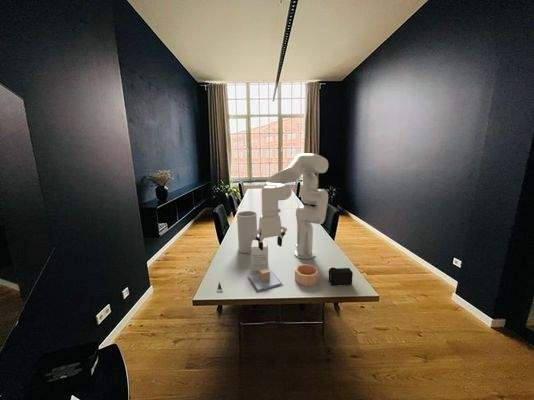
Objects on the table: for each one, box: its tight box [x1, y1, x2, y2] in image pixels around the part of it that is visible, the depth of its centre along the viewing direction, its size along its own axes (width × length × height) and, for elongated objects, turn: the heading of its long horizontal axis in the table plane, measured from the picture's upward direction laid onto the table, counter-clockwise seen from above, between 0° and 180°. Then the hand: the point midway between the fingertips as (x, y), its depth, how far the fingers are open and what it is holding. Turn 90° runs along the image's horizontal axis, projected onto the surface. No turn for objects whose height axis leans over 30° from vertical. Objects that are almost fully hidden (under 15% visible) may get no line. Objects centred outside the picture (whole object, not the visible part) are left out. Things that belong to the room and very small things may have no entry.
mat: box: [246, 270, 285, 294], centre depth 110 cm, size 14×14×1 cm
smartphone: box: [216, 281, 224, 293], centre depth 111 cm, size 7×1×15 cm
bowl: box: [294, 263, 319, 287], centre depth 111 cm, size 11×11×6 cm
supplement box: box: [250, 239, 269, 272], centre depth 122 cm, size 9×9×15 cm
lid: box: [249, 268, 282, 291], centre depth 109 cm, size 12×12×6 cm
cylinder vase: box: [236, 210, 258, 254], centre depth 144 cm, size 12×12×25 cm
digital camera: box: [327, 266, 354, 287], centre depth 109 cm, size 10×5×7 cm, turn 92°
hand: (270, 247), depth 105 cm, fingers open, 9 cm apart
